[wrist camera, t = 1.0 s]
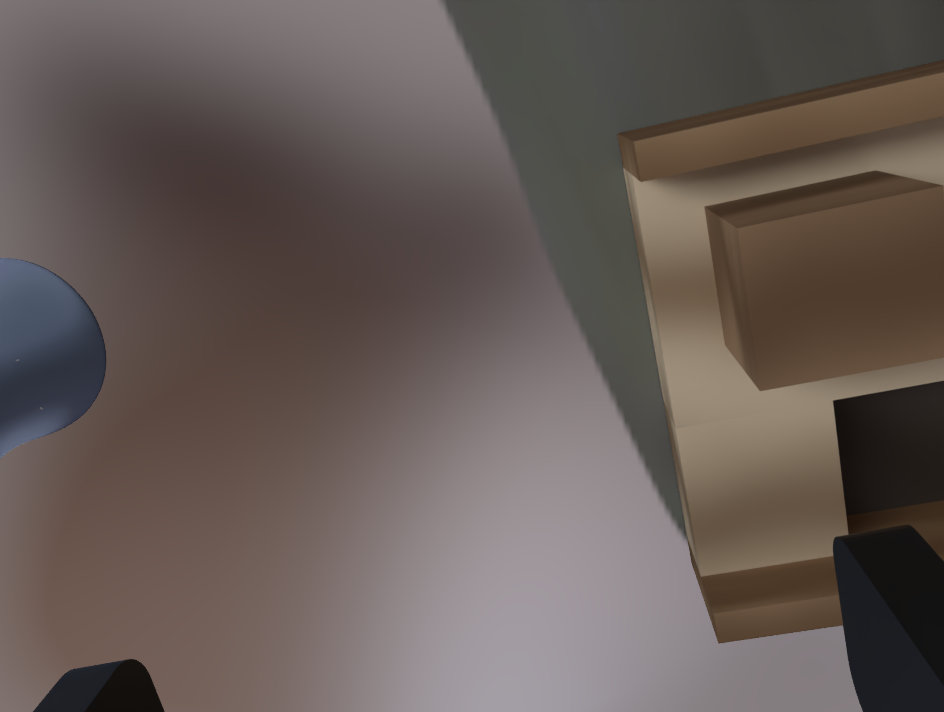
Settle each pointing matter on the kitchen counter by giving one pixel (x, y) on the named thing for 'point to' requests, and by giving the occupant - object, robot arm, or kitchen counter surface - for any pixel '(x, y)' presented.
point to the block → (831, 277)
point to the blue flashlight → (44, 354)
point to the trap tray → (793, 407)
